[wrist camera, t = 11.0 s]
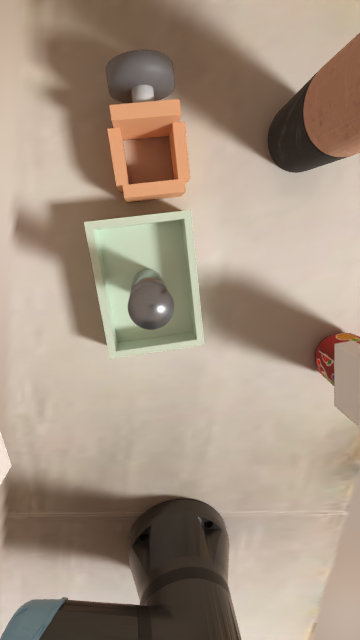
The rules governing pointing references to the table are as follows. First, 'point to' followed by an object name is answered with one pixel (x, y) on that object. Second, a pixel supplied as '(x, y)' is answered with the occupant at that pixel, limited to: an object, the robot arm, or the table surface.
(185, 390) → the table surface
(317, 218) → the table surface
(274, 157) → the travel mug
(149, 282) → the pin
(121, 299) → the tray
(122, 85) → the block
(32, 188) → the table surface
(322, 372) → the smoothie
